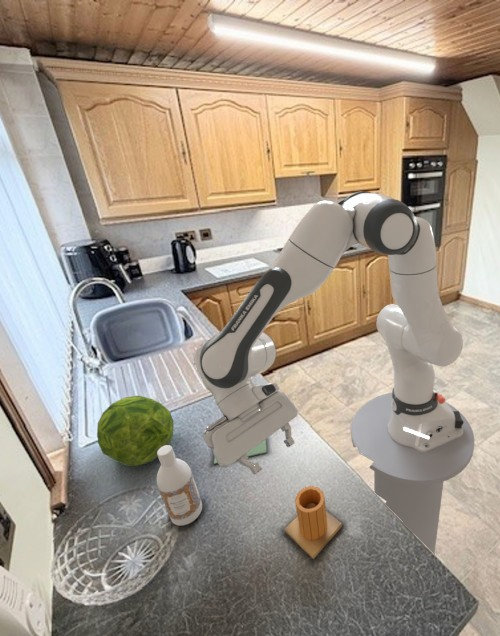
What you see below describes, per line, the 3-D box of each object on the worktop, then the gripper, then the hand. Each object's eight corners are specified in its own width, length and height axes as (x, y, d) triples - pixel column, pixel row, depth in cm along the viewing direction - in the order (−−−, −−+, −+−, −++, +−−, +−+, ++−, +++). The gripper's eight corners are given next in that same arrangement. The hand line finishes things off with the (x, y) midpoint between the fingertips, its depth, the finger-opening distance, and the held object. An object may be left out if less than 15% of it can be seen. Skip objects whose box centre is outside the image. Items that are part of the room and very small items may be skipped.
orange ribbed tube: (324, 510, 79) (321, 483, 75) (329, 535, 74) (326, 507, 70) (297, 517, 78) (293, 490, 74) (301, 543, 73) (297, 515, 69)
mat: (264, 419, 109) (264, 418, 109) (266, 452, 97) (266, 451, 96) (217, 428, 106) (217, 427, 106) (214, 464, 94) (213, 463, 94)
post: (313, 502, 82) (311, 482, 79) (342, 526, 77) (340, 505, 74) (284, 531, 76) (280, 511, 73) (313, 559, 71) (310, 538, 68)
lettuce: (159, 414, 113) (129, 374, 105) (194, 437, 98) (162, 392, 90) (106, 456, 102) (67, 415, 94) (136, 489, 88) (94, 443, 80)
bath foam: (169, 531, 77) (143, 467, 69) (172, 504, 83) (148, 443, 75) (202, 520, 79) (181, 457, 71) (203, 495, 85) (183, 434, 76)
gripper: (202, 428, 69) (239, 489, 67) (281, 379, 82) (314, 429, 81) (195, 434, 73) (230, 492, 72) (272, 387, 87) (302, 434, 85)
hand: (275, 458), depth 76 cm, fingers open, 8 cm apart
